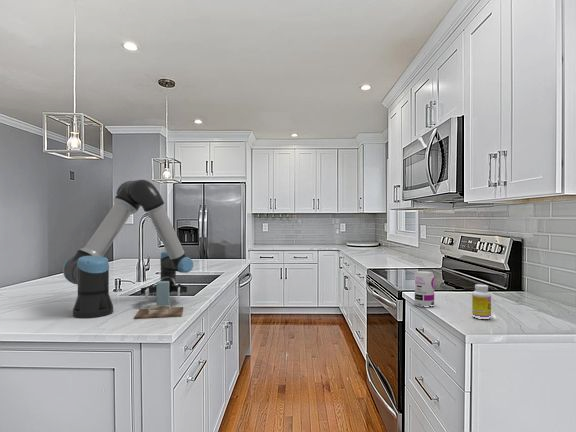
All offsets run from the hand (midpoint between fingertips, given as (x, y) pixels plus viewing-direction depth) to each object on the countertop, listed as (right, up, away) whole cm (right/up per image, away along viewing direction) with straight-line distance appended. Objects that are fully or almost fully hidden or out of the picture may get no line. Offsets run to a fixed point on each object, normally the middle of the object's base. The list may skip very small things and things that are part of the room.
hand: (162, 293), depth 177 cm
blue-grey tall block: (-1, -6, +3) cm, 7 cm away
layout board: (+2, -6, -10) cm, 12 cm away
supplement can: (+116, -6, +3) cm, 116 cm away
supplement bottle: (+131, -6, -18) cm, 132 cm away
